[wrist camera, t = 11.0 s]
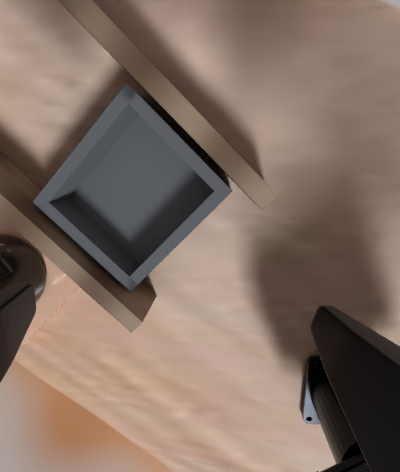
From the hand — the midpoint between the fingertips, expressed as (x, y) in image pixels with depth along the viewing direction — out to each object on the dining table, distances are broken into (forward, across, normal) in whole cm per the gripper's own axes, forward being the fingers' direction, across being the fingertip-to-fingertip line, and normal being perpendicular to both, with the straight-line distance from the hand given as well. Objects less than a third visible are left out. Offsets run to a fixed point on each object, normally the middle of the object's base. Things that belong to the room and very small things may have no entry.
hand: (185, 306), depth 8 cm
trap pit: (+13, +3, 0) cm, 13 cm away
